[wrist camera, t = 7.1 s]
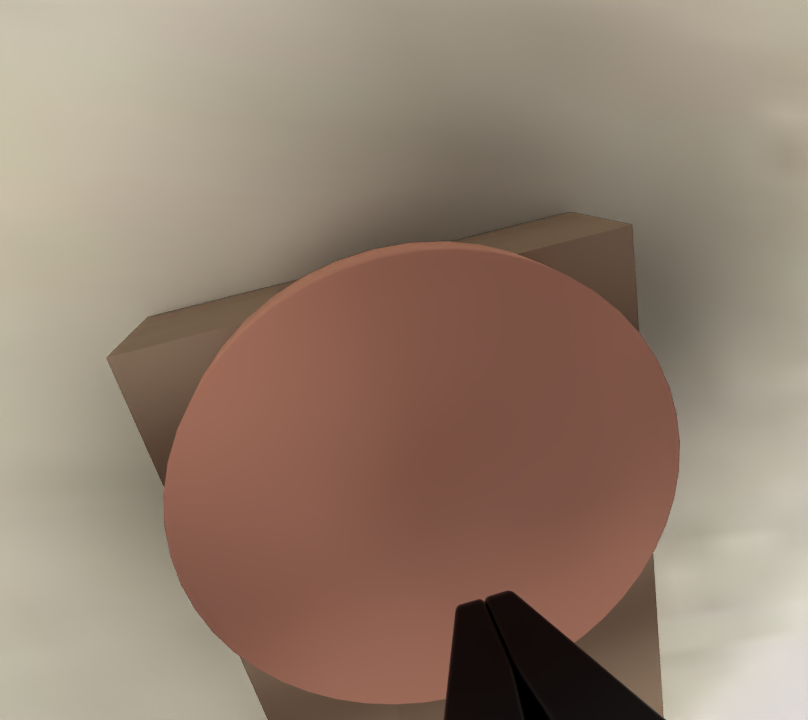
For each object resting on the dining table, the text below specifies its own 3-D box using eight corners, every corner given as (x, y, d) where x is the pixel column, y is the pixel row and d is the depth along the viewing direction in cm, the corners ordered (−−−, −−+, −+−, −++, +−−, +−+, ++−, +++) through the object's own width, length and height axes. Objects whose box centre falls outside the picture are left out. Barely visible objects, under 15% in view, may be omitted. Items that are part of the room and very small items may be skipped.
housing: (626, 759, 22) (671, 845, 20) (361, 846, 22) (369, 947, 19) (570, 211, 14) (632, 224, 12) (147, 317, 14) (106, 357, 11)
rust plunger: (597, 515, 17) (687, 626, 13) (274, 610, 16) (262, 758, 12) (561, 177, 13) (669, 185, 9) (142, 280, 13) (64, 336, 9)
